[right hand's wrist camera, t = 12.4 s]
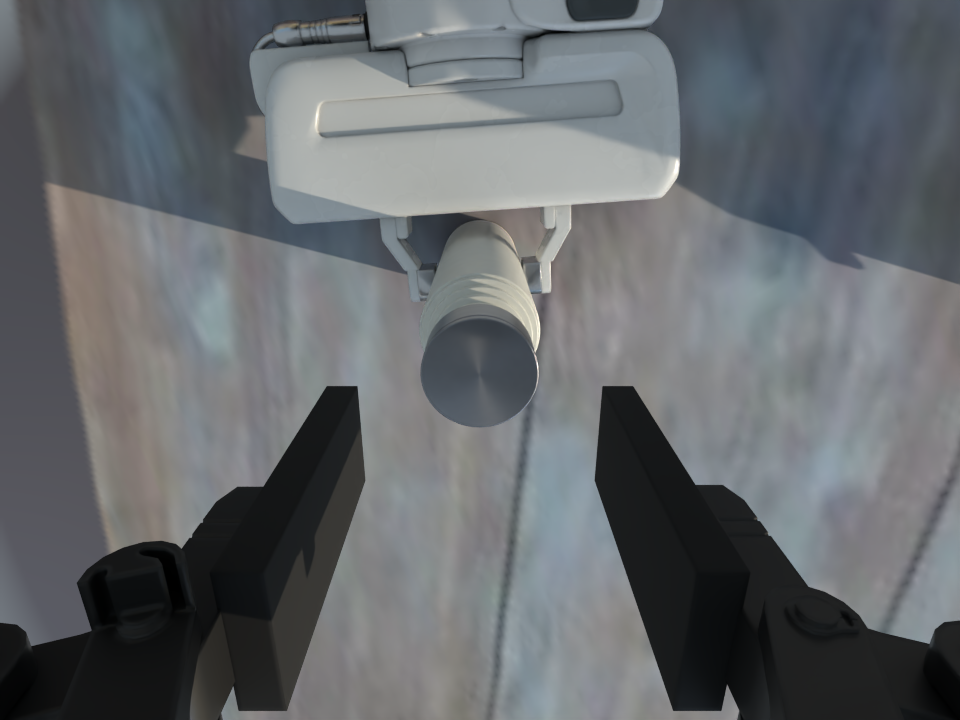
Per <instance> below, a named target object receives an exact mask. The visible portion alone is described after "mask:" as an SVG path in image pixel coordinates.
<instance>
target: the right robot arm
mask: <svg viewBox="0 0 960 720" xmlns="http://www.w3.org/2000/svg"><path fill="white" fill-rule="evenodd" d="M364 483H365V471H364V459H363V447H362V435H361V423H360V411H359V399H358V388H357V386H327V387H326V389H325V390H324V392H323V393H322V395H321V396H320V398H319V400H318V401H317V403H316V404H315V406H314V408H313V409H312V411H311V412H310V414H309V415H308V417H307V419H306V420H305V422H304V423H303V425H302V427H301V428H300V430H299V431H298V433H297V434H296V436H295V438H294V439H293V441H292V442H291V444H290V446H289V447H288V449H287V450H286V452H285V453H284V455H283V457H282V458H281V460H280V461H279V463H278V465H277V466H276V468H275V469H274V471H273V472H272V474H271V476H270V477H269V479H268V480H267V482H266V484H265V485H264V487H237V488H235V489H234V490H232V491H231V492H230V493H228V494H227V495H225V496H224V497H222V498H221V499H220V500H218V501H217V502H216V503H215V504H214V506H213V507H212V508H211V510H210V511H209V512H208V514H207V515H206V516H205V518H204V519H203V523H200V525H199V526H198V527H197V529H196V530H195V531H194V533H193V534H192V538H189V540H188V541H187V542H186V544H185V545H184V546H183V548H182V549H181V548H180V547H179V546H178V545H176V544H173V543H169V542H164V541H153V542H142V543H138V544H135V545H131V546H128V547H124V548H122V549H119V550H117V551H115V552H113V553H111V554H109V555H107V556H105V557H103V558H102V559H100V560H99V561H98V562H96V563H95V564H94V565H92V566H91V567H90V568H88V569H87V570H86V571H85V573H84V574H83V575H82V577H81V578H80V579H79V581H78V582H77V585H78V588H79V591H80V594H81V598H82V601H83V604H84V607H85V610H86V613H87V617H88V620H89V623H90V626H91V629H92V631H90V632H87V633H84V634H81V635H77V636H73V637H68V638H64V639H60V640H56V641H52V642H47V643H43V644H39V645H35V646H31V645H30V642H29V639H28V636H27V634H26V632H25V631H24V630H23V629H21V628H20V627H19V626H18V625H15V624H6V623H0V720H223V719H222V715H221V712H222V709H223V707H224V705H225V703H226V701H227V698H228V696H229V694H230V692H231V690H232V687H233V686H234V691H235V696H236V700H237V705H238V710H239V711H287V708H288V706H289V703H290V700H291V697H292V694H293V691H294V688H295V685H296V682H297V679H298V676H299V673H300V670H301V667H302V664H303V662H304V659H305V656H306V653H307V650H308V647H309V644H310V641H311V638H312V635H313V632H314V629H315V626H316V623H317V620H318V618H319V615H320V612H321V609H322V606H323V603H324V600H325V597H326V594H327V591H328V588H329V585H330V582H331V579H332V576H333V574H334V571H335V568H336V565H337V562H338V559H339V556H340V553H341V550H342V547H343V544H344V541H345V538H346V535H347V532H348V530H349V527H350V524H351V521H352V518H353V515H354V512H355V509H356V506H357V503H358V500H359V497H360V494H361V491H362V489H363V486H364ZM595 483H596V486H597V489H598V491H599V494H600V497H601V500H602V503H603V506H604V509H605V512H606V515H607V518H608V521H609V524H610V527H611V530H612V532H613V535H614V538H615V541H616V544H617V547H618V550H619V553H620V556H621V559H622V562H623V565H624V568H625V571H626V574H627V576H628V579H629V582H630V585H631V588H632V591H633V594H634V597H635V600H636V603H637V606H638V609H639V612H640V615H641V618H642V620H643V623H644V626H645V629H646V632H647V635H648V638H649V641H650V644H651V647H652V650H653V653H654V656H655V659H656V662H657V664H658V667H659V670H660V673H661V676H662V679H663V682H664V685H665V688H666V691H667V694H668V697H669V700H670V703H671V706H672V708H673V711H721V710H722V705H723V700H724V696H725V691H726V686H727V685H728V687H729V689H730V691H731V693H732V695H733V698H734V700H735V702H736V704H737V706H738V709H739V715H738V719H737V720H960V621H952V622H944V623H943V624H941V625H940V626H939V627H938V628H936V629H935V631H934V634H933V636H932V639H931V642H930V644H927V643H923V642H919V641H915V640H910V639H906V638H902V637H898V636H893V635H889V634H885V633H881V632H877V631H874V630H871V629H868V628H867V627H866V625H865V624H864V622H863V621H862V619H861V618H860V616H859V615H858V614H857V613H856V612H855V611H853V610H852V609H851V608H850V607H849V606H848V605H846V604H845V603H844V602H842V601H841V600H839V599H837V598H835V597H833V596H831V595H830V594H828V593H826V592H823V591H820V590H817V589H814V588H810V587H808V586H807V584H806V583H805V581H804V580H803V579H802V577H801V576H800V575H799V573H798V572H797V571H796V569H795V568H794V567H793V565H792V564H791V563H790V561H789V560H788V559H787V557H786V556H785V555H784V553H783V552H782V550H781V549H780V548H779V546H778V545H777V544H776V542H775V541H774V540H773V538H772V537H771V536H768V532H767V530H766V529H765V528H764V526H763V525H762V524H761V522H760V521H757V517H756V515H755V514H754V513H753V511H752V510H751V509H750V507H749V506H748V505H747V503H746V502H745V501H744V500H743V499H742V498H740V497H739V496H738V495H736V494H735V493H733V492H732V491H730V490H729V489H728V488H726V487H725V486H723V485H695V484H694V482H693V480H692V479H691V477H690V476H689V474H688V472H687V471H686V469H685V468H684V466H683V465H682V463H681V461H680V460H679V458H678V457H677V455H676V453H675V452H674V450H673V449H672V447H671V446H670V444H669V442H668V441H667V439H666V438H665V436H664V434H663V433H662V431H661V430H660V428H659V427H658V425H657V423H656V422H655V420H654V419H653V417H652V415H651V414H650V412H649V411H648V409H647V408H646V406H645V404H644V403H643V401H642V400H641V398H640V396H639V395H638V393H637V392H636V390H635V389H634V387H633V386H603V388H602V399H601V411H600V423H599V435H598V447H597V459H596V471H595Z"/></svg>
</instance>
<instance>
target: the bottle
mask: <svg viewBox="0 0 960 720" xmlns="http://www.w3.org/2000/svg"><path fill="white" fill-rule="evenodd" d="M471 304H488V305H494V306H497V307H500V308H502V309H504V310H506V311H508V312H510V313H511V314H513V315H514V316H515V317H517V318H518V319H519V320H520V321H521V322H522V324H523V325H524V326H525V328H526V329H527V331H528V333H529V335H530V337H531V340H532V343H533V347H534V351H535V352H536V349H537V347H538V343H539V338H540V322H539V317H538V314H537V311H536V308H535V305H534V302H533V299H532V296H531V293H530V290H529V287H528V284H527V281H526V278H525V275H524V272H523V269H522V266H521V263H520V260H519V257H518V254H517V251H516V248H515V245H514V243H513V240H512V238H511V237H510V235H509V234H508V233H507V232H506V231H505V230H504V229H503V228H502V227H500V226H499V225H497V224H495V223H493V222H490V221H485V220H474V221H470V222H467V223H465V224H463V225H461V226H459V227H458V228H457V229H456V230H454V231H453V233H452V234H451V235H450V237H449V238H448V240H447V242H446V245H445V248H444V250H443V253H442V256H441V259H440V262H439V265H438V268H437V271H436V274H435V277H434V279H433V282H432V285H431V288H430V291H429V294H428V297H427V300H426V303H425V306H424V308H423V312H422V315H421V319H420V325H419V334H420V341H421V345H422V348H423V351H425V348H426V344H427V341H428V338H429V335H430V333H431V331H432V330H433V328H434V326H435V325H436V324H437V323H438V322H439V320H440V319H442V318H443V317H444V316H445V315H446V314H448V313H449V312H451V311H453V310H455V309H457V308H460V307H462V306H466V305H471Z"/></svg>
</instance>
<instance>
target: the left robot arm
mask: <svg viewBox="0 0 960 720" xmlns="http://www.w3.org/2000/svg"><path fill="white" fill-rule="evenodd" d="M663 1H664V0H365V5H366V9H367V11H366V13H365V14H355V15H348V16H336V17H330V18H325V19H322V20H317V21H311V22H310V21H306V22H302V21H301V20H287V21H282V22H278V23H276V24H274V25H273V30H272V31H273V32H270V33H268V34H266V35H264V36H263V37H262V38H260V39H259V40H258V42H257V43H256V45H255V46H254V48H253V50H252V53H251V55H250V62H249V65H250V73H251V78H252V83H253V88H254V94H255V99H256V102H257V104H258V107H259V109H260V111H261V112H262V114H263V115H264V116H265V136H266V154H267V165H268V175H269V182H270V190H271V196H272V201H273V204H274V206H275V207H276V209H277V210H278V211H279V212H280V213H281V214H282V215H283V216H284V217H285V218H286V219H287V220H288V221H289V222H291V223H293V224H306V223H320V222H334V221H348V220H362V219H377V218H379V220H380V228H381V236H382V241H383V243H384V244H385V245H386V247H387V248H388V249H389V251H390V252H391V253H392V255H393V256H394V257H395V259H396V260H397V261H398V263H399V264H400V265H401V267H402V268H403V269H404V271H407V274H408V282H409V291H410V298H411V301H412V302H420V301H426V300H427V297H428V294H429V291H430V288H431V285H432V282H433V279H434V277H435V274H436V271H437V263H431V264H422V262H421V260H420V259H419V258H418V256H417V255H416V253H415V252H414V250H413V249H412V247H411V246H410V244H409V243H408V241H407V240H406V238H407V237H408V236H409V235H410V233H411V232H412V231H413V228H412V218H411V216H419V215H433V214H447V213H461V212H475V211H489V210H503V209H517V208H531V207H540V222H541V223H542V224H543V226H544V227H545V228H546V229H548V231H547V233H546V235H545V237H544V239H543V241H542V243H541V245H540V247H539V249H538V251H537V253H536V255H535V256H531V257H521V266H522V269H523V272H524V275H525V278H526V281H527V284H528V287H529V290H530V293H531V294H538V293H550V292H551V265H550V261H553V260H554V258H555V256H556V254H557V252H558V251H559V249H560V247H561V245H562V243H563V242H564V240H565V238H566V236H567V234H568V232H569V231H570V229H571V205H574V204H588V203H602V202H616V201H630V200H644V199H657V198H661V197H663V196H664V195H665V194H666V192H667V191H668V190H669V189H670V187H671V186H672V184H673V183H674V182H675V180H676V179H677V177H678V174H679V167H680V108H679V95H678V83H677V75H676V69H675V65H674V61H673V58H672V56H671V53H670V51H669V49H668V48H667V46H666V45H665V44H664V42H663V41H662V40H661V39H660V38H659V37H657V36H656V35H654V34H653V33H650V32H648V31H645V30H646V29H647V28H649V27H650V26H651V25H652V24H653V23H654V22H655V20H656V19H657V18H658V16H659V15H660V13H661V10H662V7H663ZM369 39H370V42H369ZM272 42H276V44H277V46H279V47H283V48H271V49H265V48H266V47H267V46H268V45H269V44H270V43H272ZM320 43H321V45H312V44H320ZM306 45H308V46H306ZM371 50H372V51H373V52H371Z"/></svg>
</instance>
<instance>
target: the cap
mask: <svg viewBox="0 0 960 720" xmlns="http://www.w3.org/2000/svg"><path fill="white" fill-rule="evenodd" d="M538 374H539V373H538V363H537V358H536V354H535V351H534V347H533V343H532V340H531V337H530V335H529V333H528V331H527V329H526V328H525V326H524V325H523V324H522V322H521V321H520V320H519V319H518V318H517V317H515V316H514V315H513V314H511V313H510V312H508V311H506V310H504V309H502V308H500V307H497V306H494V305H488V304H471V305H466V306H462V307H460V308H457V309H455V310H453V311H451V312H449V313H448V314H446V315H445V316H444V317H443V318H442V319H440V320H439V322H438V323H437V324H436V325H435V326H434V328H433V330H432V331H431V333H430V335H429V338H428V341H427V344H426V348H425V351H424V355H423V359H422V364H421V382H422V386H423V389H424V392H425V394H426V396H427V398H428V400H429V401H430V403H431V404H432V405H433V407H434V408H435V409H436V410H437V411H438V412H439V413H441V414H442V415H443V416H445V417H446V418H448V419H450V420H451V421H454V422H456V423H458V424H462V425H465V426H471V427H489V426H494V425H498V424H501V423H503V422H506V421H508V420H510V419H511V418H513V417H515V416H516V415H517V414H518V413H520V412H521V411H522V410H523V409H524V408H525V407H526V406H527V404H528V403H529V402H530V400H531V398H532V396H533V395H534V392H535V390H536V387H537V382H538Z"/></svg>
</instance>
